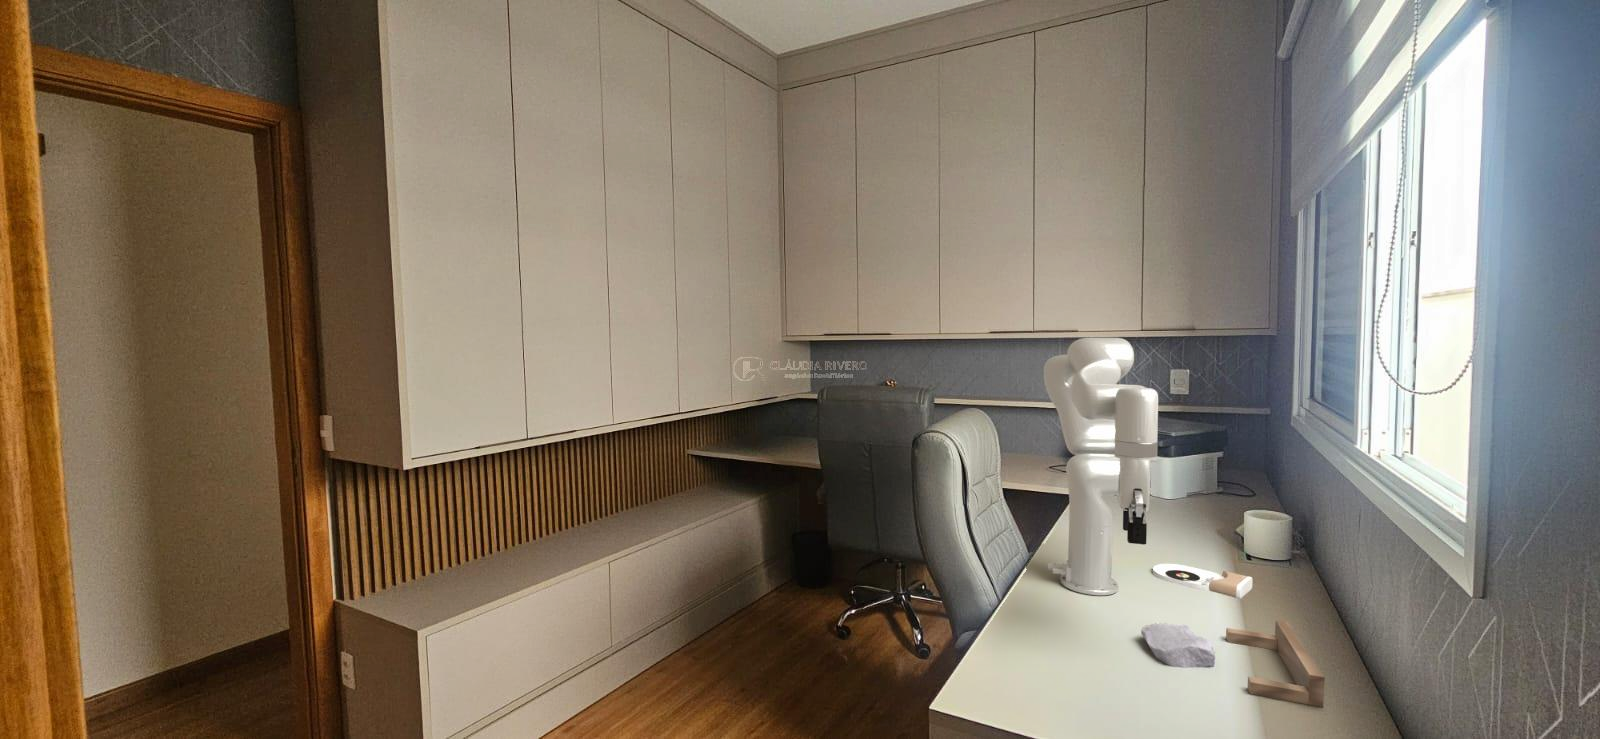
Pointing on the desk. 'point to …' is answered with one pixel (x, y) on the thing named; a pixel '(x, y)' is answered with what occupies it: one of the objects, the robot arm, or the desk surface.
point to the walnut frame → (1294, 659)
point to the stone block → (1178, 646)
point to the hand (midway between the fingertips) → (1134, 536)
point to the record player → (1204, 579)
